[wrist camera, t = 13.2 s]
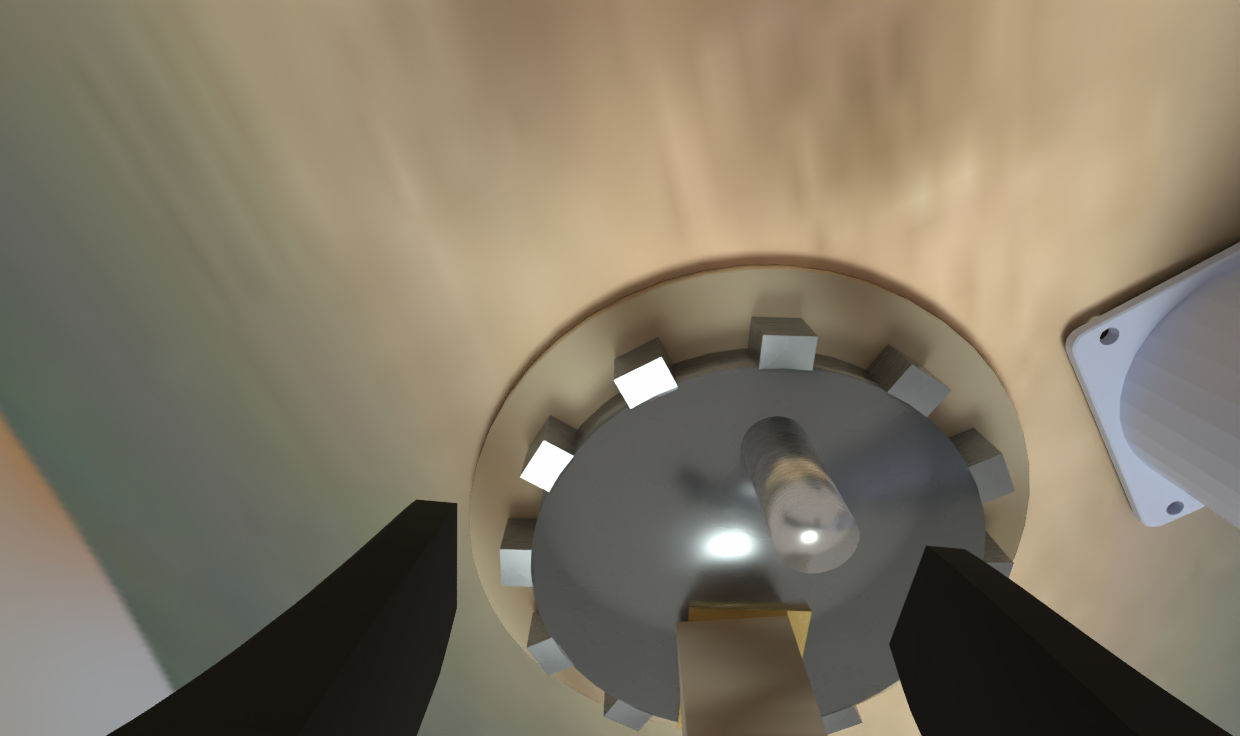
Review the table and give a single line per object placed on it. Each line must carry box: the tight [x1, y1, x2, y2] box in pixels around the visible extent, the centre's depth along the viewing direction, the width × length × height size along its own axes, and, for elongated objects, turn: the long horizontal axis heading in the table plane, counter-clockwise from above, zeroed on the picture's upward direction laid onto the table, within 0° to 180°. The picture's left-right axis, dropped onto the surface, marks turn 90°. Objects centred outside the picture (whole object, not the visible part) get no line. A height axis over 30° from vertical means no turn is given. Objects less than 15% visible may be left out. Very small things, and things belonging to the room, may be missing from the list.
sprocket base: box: [469, 265, 1029, 726], centre depth 19 cm, size 18×18×3 cm
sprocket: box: [500, 317, 1015, 735], centre depth 17 cm, size 15×15×6 cm
